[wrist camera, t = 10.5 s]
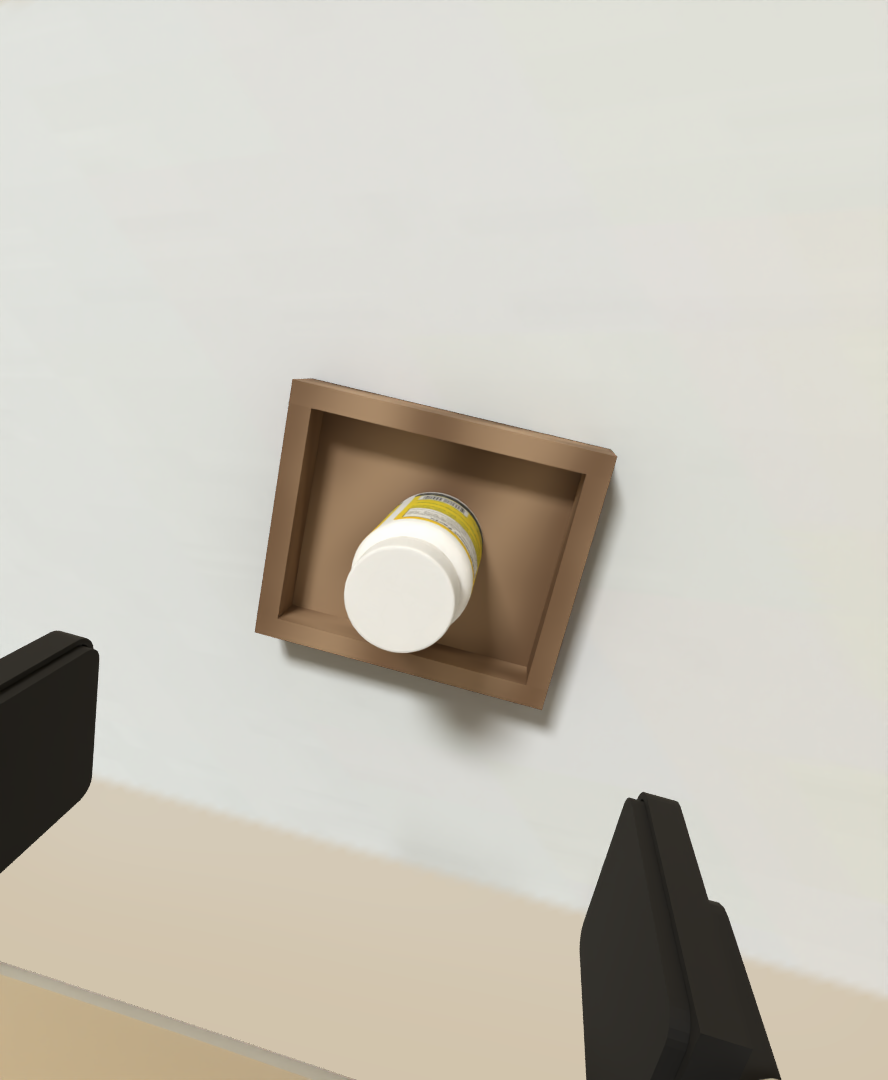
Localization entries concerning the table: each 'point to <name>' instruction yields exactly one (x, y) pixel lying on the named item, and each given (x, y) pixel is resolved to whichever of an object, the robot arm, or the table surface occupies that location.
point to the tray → (444, 467)
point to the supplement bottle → (414, 573)
